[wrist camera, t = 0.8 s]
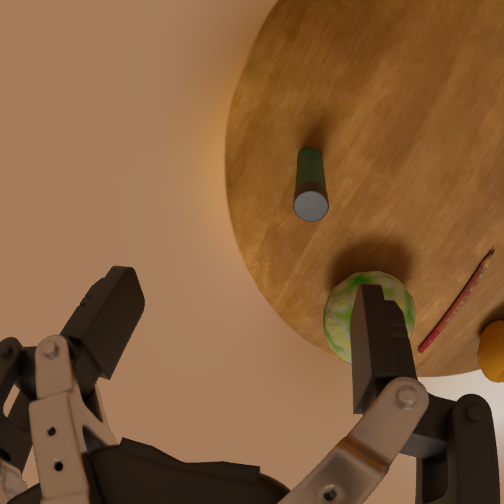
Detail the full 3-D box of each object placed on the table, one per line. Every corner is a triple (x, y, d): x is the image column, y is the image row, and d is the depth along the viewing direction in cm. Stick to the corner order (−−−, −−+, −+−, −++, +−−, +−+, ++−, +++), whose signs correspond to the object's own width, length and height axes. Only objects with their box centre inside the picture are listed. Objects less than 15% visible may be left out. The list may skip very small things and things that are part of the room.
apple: (514, 333, 36) (531, 377, 29) (471, 352, 40) (483, 398, 33) (518, 300, 32) (540, 348, 25) (469, 321, 36) (487, 373, 29)
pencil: (422, 348, 40) (423, 354, 40) (416, 348, 40) (417, 353, 40) (495, 247, 29) (499, 252, 28) (490, 245, 29) (493, 250, 28)
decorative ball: (308, 270, 35) (304, 343, 27) (393, 238, 31) (416, 309, 23) (339, 324, 39) (341, 391, 31) (413, 300, 35) (429, 368, 27)
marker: (291, 155, 27) (285, 202, 20) (313, 142, 26) (315, 184, 19) (306, 175, 28) (306, 227, 21) (327, 162, 27) (335, 211, 20)
